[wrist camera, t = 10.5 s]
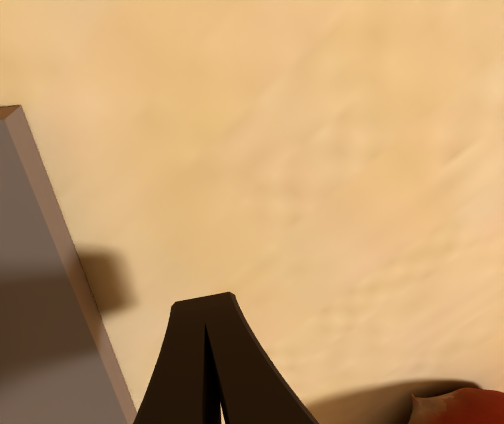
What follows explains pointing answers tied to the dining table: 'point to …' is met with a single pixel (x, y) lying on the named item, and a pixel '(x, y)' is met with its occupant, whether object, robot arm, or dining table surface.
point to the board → (47, 303)
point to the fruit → (460, 408)
